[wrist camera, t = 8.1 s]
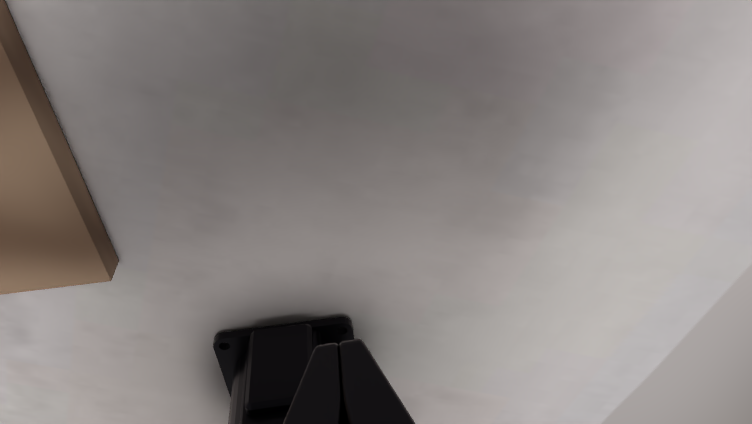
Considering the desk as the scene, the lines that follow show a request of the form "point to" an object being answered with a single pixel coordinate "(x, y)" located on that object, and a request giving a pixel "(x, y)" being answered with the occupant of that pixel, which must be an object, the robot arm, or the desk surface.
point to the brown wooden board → (41, 187)
